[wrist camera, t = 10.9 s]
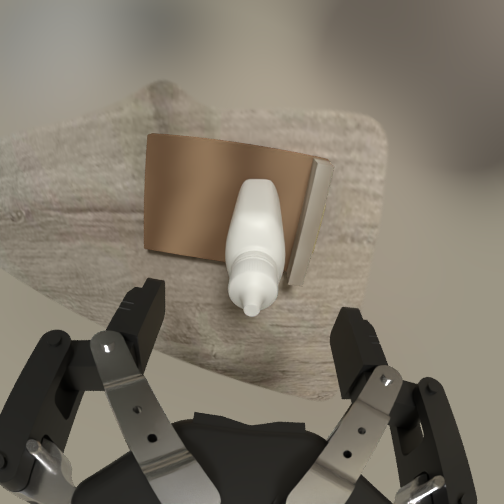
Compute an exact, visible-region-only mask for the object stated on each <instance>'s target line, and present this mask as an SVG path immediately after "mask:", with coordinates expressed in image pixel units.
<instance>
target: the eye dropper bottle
mask: <svg viewBox="0 0 504 504" xmlns="http://www.w3.org/2000/svg"><path fill="white" fill-rule="evenodd" d="M225 260H226V267H227V272H228V275H229V284H228V294H229V296H230V298H231V300H232V302H234V304H235V305H237V306H238V307H240V308H242V309H243V310H244V313H245V314H246V315H247V316H251V317H253V316H256V315H258V314H259V312H260V310H262V309H265V308H267V307H269V306H270V305H272V303H273V302H274V301H275V300H276V298H277V296H278V284H279V282H280V279H281V277H282V274H283V270H284V265H285V242H284V233H283V225H282V216H281V209H280V202H279V197H278V193H277V190H276V188H275V186H274V184H273V182H272V181H270V180H267V179H248V180H246V181H245V182H244V183H243V184H242V186H241V188H240V191H239V194H238V197H237V201H236V205H235V208H234V212H233V216H232V219H231V223H230V227H229V231H228V235H227V240H226V248H225Z"/></svg>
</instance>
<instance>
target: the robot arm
mask: <svg viewBox="0 0 504 504" xmlns="http://www.w3.org/2000/svg"><path fill="white" fill-rule="evenodd" d="M164 315H165V281H164V280H158V279H152V278H147V280H146V282H145V284H144V285H143V287H142V288H139V287H134V288H133V289H132V290H130V291H129V292H127V294H126V295H125V297H124V299H123V302H121V304H120V306H119V308H118V309H117V311H116V313H115V314H114V316H113V318H112V320H111V322H110V323H109V325H108V327H107V329H106V330H105V331H101V332H98V333H97V334H95V335H94V336H93V337H92V339H91V340H71V338H70V336H69V335H68V334H67V333H66V332H64V331H62V330H52V331H49V332H47V333H45V334H44V335H43V336H42V337H41V339H40V340H39V342H38V344H37V345H36V347H35V349H34V351H33V352H32V354H31V356H30V358H29V359H28V361H27V363H26V365H25V367H24V368H23V370H22V372H21V374H20V376H19V378H18V379H17V381H16V383H15V385H14V388H13V389H12V391H11V393H10V395H9V397H8V399H7V401H6V403H5V405H4V408H3V410H2V412H1V414H0V485H1V486H3V488H5V489H6V490H8V491H9V492H11V493H13V494H14V495H15V496H17V497H19V498H20V499H22V500H25V501H27V502H29V503H30V504H477V496H476V492H475V487H474V483H473V479H472V475H471V471H470V467H469V464H468V460H467V457H466V453H465V450H464V446H463V443H462V440H461V437H460V434H459V430H458V427H457V424H456V421H455V419H454V416H453V413H452V410H451V408H450V404H449V402H448V399H447V396H446V394H445V391H444V389H443V386H442V385H441V384H440V383H439V382H438V381H437V380H435V379H433V378H430V377H426V378H423V379H421V380H420V382H419V383H418V384H415V383H411V382H407V381H404V380H402V377H401V375H400V373H399V372H398V371H397V370H396V369H394V368H393V367H390V366H388V363H387V361H386V358H385V355H384V353H383V350H382V348H381V345H380V344H379V340H378V337H377V335H376V332H375V330H374V328H373V326H372V325H371V324H370V323H369V322H368V321H367V320H363V318H362V315H361V313H360V310H359V309H358V308H350V307H342V308H341V310H340V312H339V314H338V317H337V319H336V321H335V324H334V326H333V329H332V331H331V335H330V346H331V350H332V355H333V359H334V364H335V368H336V373H337V378H338V382H339V387H340V392H341V397H342V399H351V402H352V404H351V405H350V406H349V408H348V409H347V411H346V412H345V414H344V416H343V417H342V418H341V420H340V421H339V423H338V425H337V426H336V427H335V429H334V430H333V432H332V433H331V434H330V436H329V437H328V438H327V440H325V439H324V438H322V437H320V436H319V435H317V434H315V433H312V432H309V431H306V430H305V423H293V422H273V423H267V424H260V425H247V424H244V423H241V422H238V421H235V420H232V419H229V418H226V417H223V416H217V415H210V414H204V413H198V412H195V413H194V418H193V419H187V420H181V421H178V422H174V423H170V422H169V420H168V418H167V416H166V414H165V413H164V411H163V409H162V407H161V406H160V404H159V402H158V400H157V398H156V397H155V395H154V393H153V391H152V389H151V387H150V385H149V383H148V381H147V379H146V378H145V376H144V375H143V374H144V371H145V368H146V365H147V362H148V359H149V357H150V354H151V352H152V349H153V346H154V343H155V341H156V338H157V335H158V333H159V330H160V327H161V325H162V322H163V319H164ZM141 374H142V375H141ZM84 391H105V394H106V396H107V399H108V401H109V404H110V406H111V409H112V411H113V413H114V416H115V418H116V421H117V423H118V425H119V428H120V430H121V432H122V434H123V437H124V439H125V441H126V443H127V445H128V447H129V449H130V451H129V452H127V453H126V454H124V455H123V456H121V457H120V458H118V459H117V460H115V461H114V462H112V463H111V464H109V465H108V466H106V467H104V468H103V469H101V470H100V471H98V472H96V473H95V474H93V475H92V476H90V477H88V478H87V479H85V480H84V481H82V482H81V483H80V484H79V485H78V486H77V487H75V486H74V484H73V482H72V477H71V475H72V467H71V463H70V461H69V460H68V458H67V457H66V456H65V455H64V454H63V453H64V449H65V446H66V443H67V439H68V437H69V434H70V431H71V428H72V425H73V422H74V419H75V416H76V413H77V410H78V407H79V405H80V402H81V399H82V396H83V394H84ZM420 422H421V425H422V428H423V432H424V438H423V434H422V431H421V427H420ZM387 425H389V426H390V430H391V435H392V440H393V445H394V451H395V456H396V462H397V468H398V474H399V480H400V487H401V488H400V489H399V490H398V492H397V494H396V496H395V502H394V503H391V501H389V500H388V499H387V498H386V497H385V496H384V495H383V494H382V493H381V492H380V491H378V490H377V489H376V488H375V487H374V486H373V485H372V484H371V483H370V482H369V481H368V480H367V479H366V478H365V477H363V476H362V475H361V473H362V471H363V469H364V468H365V466H366V464H367V462H368V461H369V459H370V457H371V455H372V454H373V452H374V450H375V448H376V446H377V444H378V442H379V440H380V438H381V436H382V435H383V433H384V430H385V429H386V426H387Z"/></svg>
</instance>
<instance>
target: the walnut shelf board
mask: <svg viewBox="0 0 504 504" xmlns="http://www.w3.org/2000/svg"><path fill="white" fill-rule="evenodd" d="M333 171H334V166H333V165H332V164H331V163H330V161H329V160H328V159H325V158H321V157H316V156H311V155H306V154H302V153H297V152H291V151H286V150H281V149H275V148H269V147H263V146H257V145H251V144H245V143H238V142H231V141H223V140H216V139H207V138H199V137H189V136H179V135H168V134H155V133H151V134H149V135H148V136H147V150H146V166H145V190H144V249H149V250H155V251H161V252H167V253H173V254H179V255H185V256H192V257H198V258H204V259H210V260H216V261H222V262H226V260H225V248H226V240H227V235H228V231H229V227H230V223H231V219H232V216H233V212H234V208H235V205H236V201H237V197H238V194H239V191H240V188H241V186H242V184H243V183H244V182H245V181H246V180H248V179H267V180H270V181H272V182H273V184H274V186H275V188H276V190H277V193H278V197H279V202H280V209H281V216H282V225H283V233H284V242H285V265H284V270H283V271H286V272H287V280H288V285H294V286H301V287H302V286H303V283H304V279H305V276H306V272H307V269H308V265H309V262H310V259H311V255H312V253H313V251H314V248H315V244H316V240H317V237H318V233H319V229H320V226H321V222H322V218H323V214H324V211H325V207H326V205H325V203H326V199H327V195H328V191H329V187H330V183H331V179H332V175H333Z"/></svg>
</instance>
